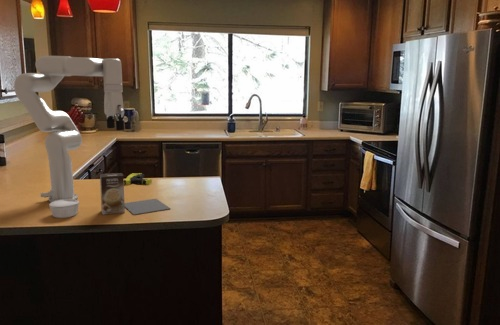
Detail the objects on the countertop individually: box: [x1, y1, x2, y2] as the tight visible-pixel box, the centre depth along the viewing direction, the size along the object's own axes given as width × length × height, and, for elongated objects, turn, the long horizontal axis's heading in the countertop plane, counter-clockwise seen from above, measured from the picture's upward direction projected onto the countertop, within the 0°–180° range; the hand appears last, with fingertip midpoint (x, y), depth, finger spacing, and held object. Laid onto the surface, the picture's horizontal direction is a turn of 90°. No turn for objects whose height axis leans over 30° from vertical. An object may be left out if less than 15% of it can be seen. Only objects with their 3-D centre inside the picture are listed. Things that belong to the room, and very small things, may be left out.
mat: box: [124, 198, 171, 216], centre depth 185 cm, size 16×18×1 cm
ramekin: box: [48, 199, 80, 219], centre depth 173 cm, size 11×11×5 cm
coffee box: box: [99, 172, 126, 215], centre depth 177 cm, size 9×6×16 cm
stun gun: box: [124, 172, 153, 186], centre depth 233 cm, size 3×19×15 cm
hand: (115, 128), depth 181 cm, fingers open, 9 cm apart
